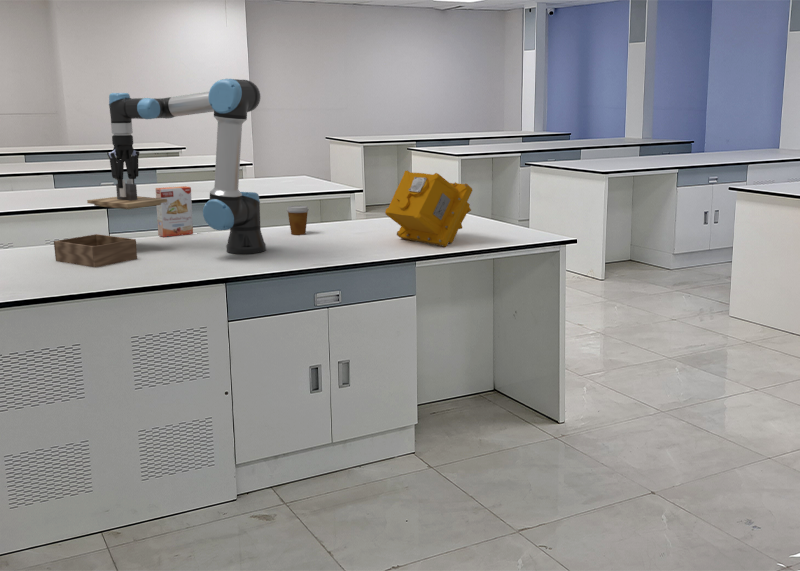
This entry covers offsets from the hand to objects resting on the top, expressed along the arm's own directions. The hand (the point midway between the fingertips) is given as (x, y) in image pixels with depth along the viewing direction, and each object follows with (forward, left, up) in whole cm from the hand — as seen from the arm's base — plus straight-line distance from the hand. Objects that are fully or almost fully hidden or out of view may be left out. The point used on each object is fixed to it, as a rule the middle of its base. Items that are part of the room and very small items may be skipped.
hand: (127, 196), depth 301 cm
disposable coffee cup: (-32, -64, -21) cm, 75 cm away
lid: (0, 0, -4) cm, 4 cm away
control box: (-91, -77, -21) cm, 121 cm away
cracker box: (+12, -34, -21) cm, 42 cm away
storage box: (-9, +23, -21) cm, 32 cm away
